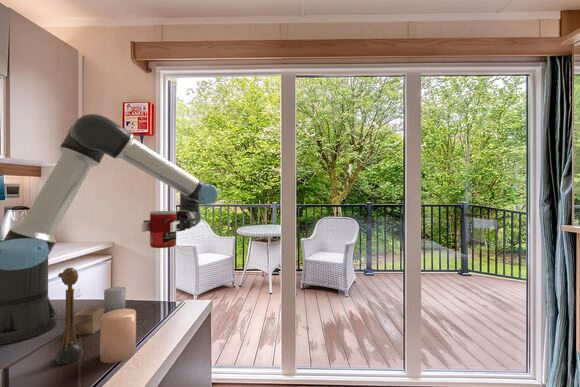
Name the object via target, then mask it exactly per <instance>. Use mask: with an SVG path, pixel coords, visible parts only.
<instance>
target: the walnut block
mask: <svg viewBox="0 0 580 387" xmlns="http://www.w3.org/2000/svg"><path fill="white" fill-rule="evenodd" d="M103 314H104V306H103V307H85V308H83V309H81V310H79V311H78V312H76V313H75V314H74V326H75V334H76V335H94V334H95V333H96V332H97V331H100V317H101V316H102V315H103Z"/></svg>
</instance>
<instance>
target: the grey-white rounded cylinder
mask: <svg viewBox="0 0 580 387" xmlns="http://www.w3.org/2000/svg"><path fill="white" fill-rule="evenodd" d="M126 290H127V289H126V287H125V286H112V287H109V288H105V289H104V290H103V297H104V298H103V307H104V314H105V313H107V312H110V311H113V310H118V309H126V300H127V298H126Z"/></svg>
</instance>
